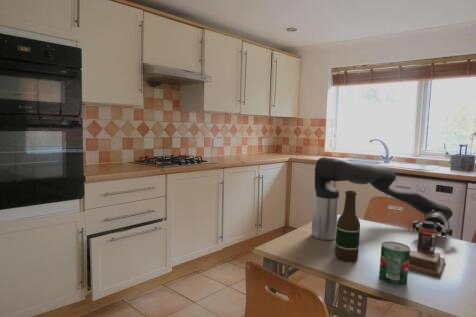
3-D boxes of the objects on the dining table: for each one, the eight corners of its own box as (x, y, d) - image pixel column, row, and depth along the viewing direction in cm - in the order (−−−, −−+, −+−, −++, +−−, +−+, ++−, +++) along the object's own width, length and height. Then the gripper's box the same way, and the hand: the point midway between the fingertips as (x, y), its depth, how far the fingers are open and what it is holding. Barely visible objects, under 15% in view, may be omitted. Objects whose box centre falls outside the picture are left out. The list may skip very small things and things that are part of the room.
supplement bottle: (437, 255, 123) (440, 225, 122) (419, 253, 124) (422, 223, 123) (431, 249, 129) (434, 220, 128) (414, 247, 130) (417, 219, 129)
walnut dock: (439, 277, 104) (440, 265, 103) (391, 265, 112) (392, 253, 112) (444, 262, 116) (445, 251, 116) (401, 251, 125) (402, 241, 124)
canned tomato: (374, 274, 105) (377, 240, 104) (399, 275, 104) (402, 241, 103) (384, 286, 97) (388, 250, 96) (412, 287, 97) (415, 251, 95)
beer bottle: (357, 255, 119) (362, 190, 117) (357, 264, 112) (363, 194, 110) (335, 252, 122) (339, 188, 119) (334, 260, 115) (338, 192, 112)
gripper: (418, 211, 148) (411, 218, 136) (455, 218, 140) (452, 226, 127) (416, 227, 149) (409, 236, 136) (454, 235, 141) (450, 245, 128)
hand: (430, 231), depth 132 cm, fingers open, 8 cm apart
